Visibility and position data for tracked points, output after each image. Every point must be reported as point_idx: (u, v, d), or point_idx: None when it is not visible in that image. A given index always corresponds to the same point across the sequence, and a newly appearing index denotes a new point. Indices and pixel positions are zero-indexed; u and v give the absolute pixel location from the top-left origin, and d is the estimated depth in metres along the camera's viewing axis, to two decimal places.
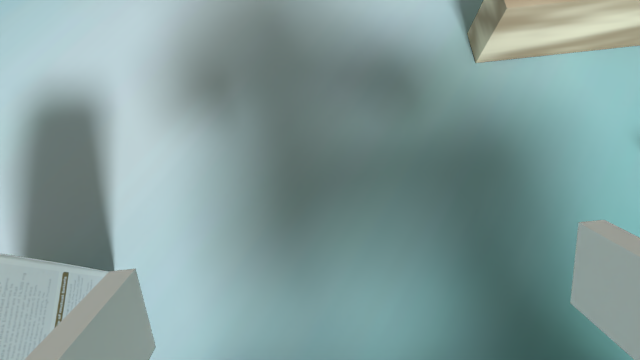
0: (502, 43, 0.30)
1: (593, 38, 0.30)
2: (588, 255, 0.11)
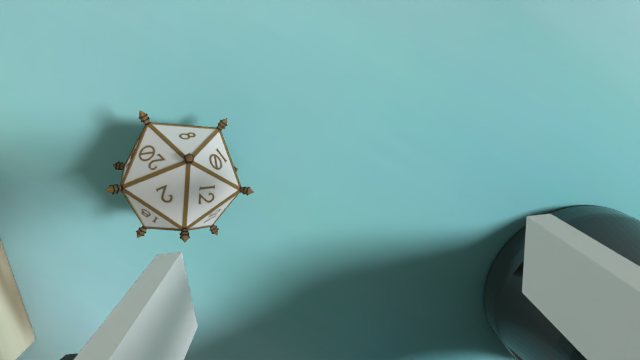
0: (11, 344, 0.31)
1: None
2: (534, 247, 0.12)
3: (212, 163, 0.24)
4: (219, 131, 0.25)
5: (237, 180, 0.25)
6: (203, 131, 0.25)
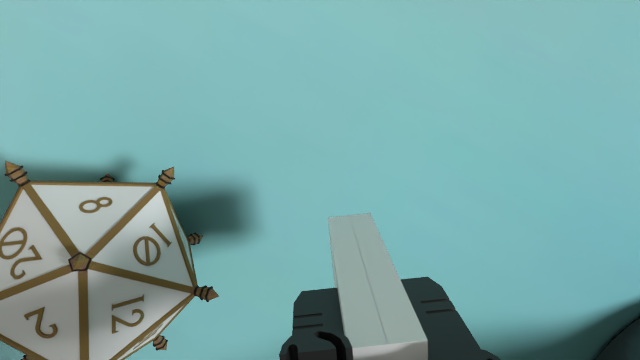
0: None
1: None
2: None
3: (139, 255, 0.13)
4: (160, 190, 0.15)
5: (190, 275, 0.14)
6: (129, 193, 0.14)
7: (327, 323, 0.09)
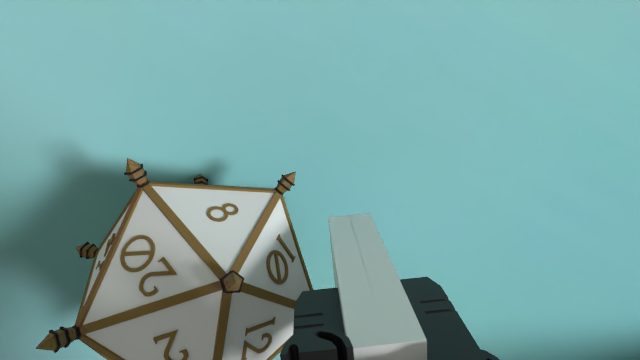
0: None
1: None
2: None
3: (271, 272, 0.11)
4: (280, 197, 0.13)
5: None
6: (251, 199, 0.13)
7: (328, 323, 0.09)
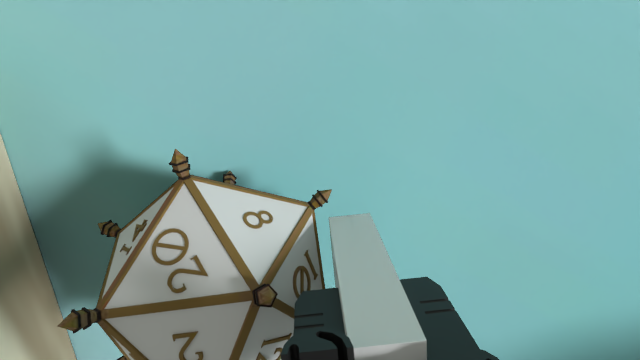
0: None
1: None
2: None
3: (296, 288, 0.11)
4: (312, 212, 0.13)
5: None
6: (285, 210, 0.13)
7: (328, 323, 0.09)
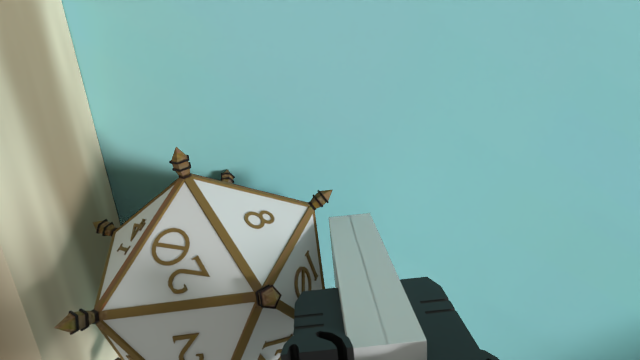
0: None
1: None
2: None
3: (297, 289, 0.11)
4: (313, 212, 0.13)
5: None
6: (286, 210, 0.12)
7: (328, 323, 0.09)
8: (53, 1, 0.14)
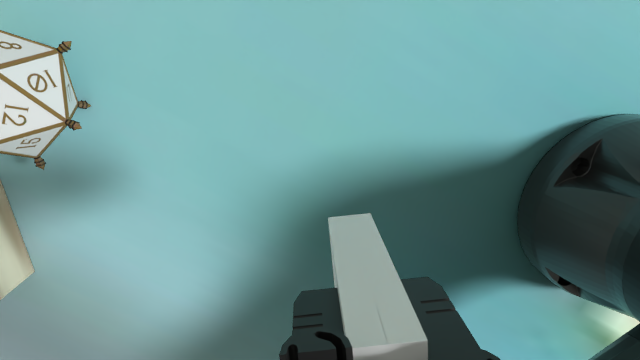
0: (8, 272, 0.28)
1: None
2: None
3: (30, 83, 0.21)
4: (58, 53, 0.23)
5: (65, 111, 0.22)
6: (35, 47, 0.22)
7: (327, 323, 0.09)
8: None
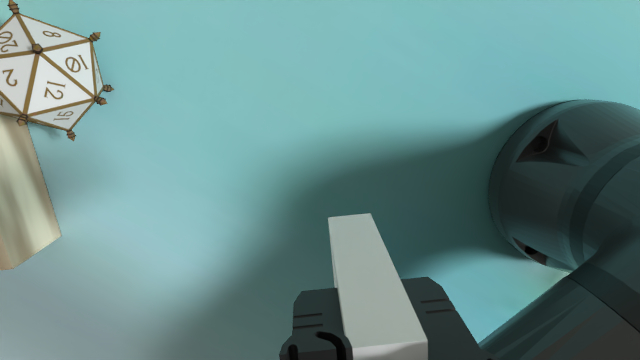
0: (40, 232, 0.32)
1: (17, 143, 0.31)
2: None
3: (68, 64, 0.25)
4: (89, 41, 0.27)
5: (94, 89, 0.27)
6: (71, 36, 0.26)
7: (327, 323, 0.09)
8: None
